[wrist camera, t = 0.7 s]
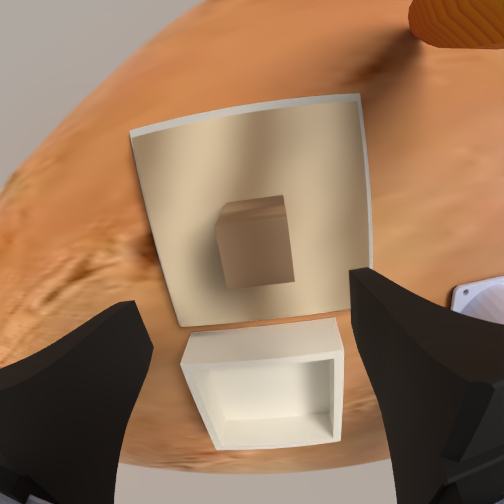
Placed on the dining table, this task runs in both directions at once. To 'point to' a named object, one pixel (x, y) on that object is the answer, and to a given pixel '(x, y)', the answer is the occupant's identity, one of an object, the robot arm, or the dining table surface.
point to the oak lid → (258, 211)
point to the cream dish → (268, 384)
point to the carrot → (458, 23)
